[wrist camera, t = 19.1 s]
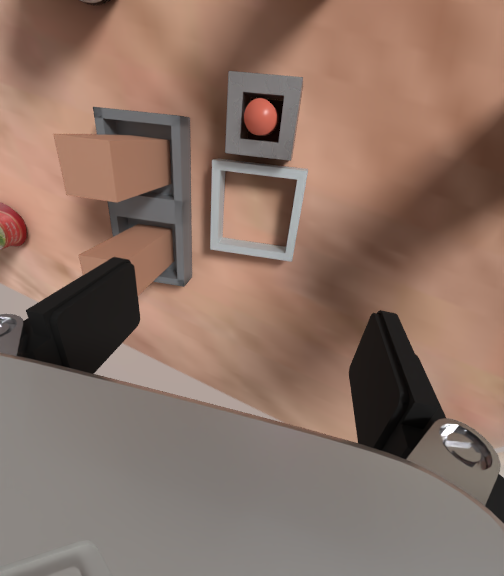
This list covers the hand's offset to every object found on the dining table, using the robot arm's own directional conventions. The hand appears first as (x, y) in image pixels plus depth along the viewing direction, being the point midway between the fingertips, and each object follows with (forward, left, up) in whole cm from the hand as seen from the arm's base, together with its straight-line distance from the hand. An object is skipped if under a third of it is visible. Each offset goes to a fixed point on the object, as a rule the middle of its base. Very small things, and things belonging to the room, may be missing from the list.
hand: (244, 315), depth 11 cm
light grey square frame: (+2, -3, -28) cm, 28 cm away
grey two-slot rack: (+3, -17, -28) cm, 33 cm away
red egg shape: (-8, -3, -26) cm, 28 cm away
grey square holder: (-8, -3, -28) cm, 29 cm away
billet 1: (-2, -17, -27) cm, 32 cm away
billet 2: (+9, -17, -27) cm, 33 cm away
